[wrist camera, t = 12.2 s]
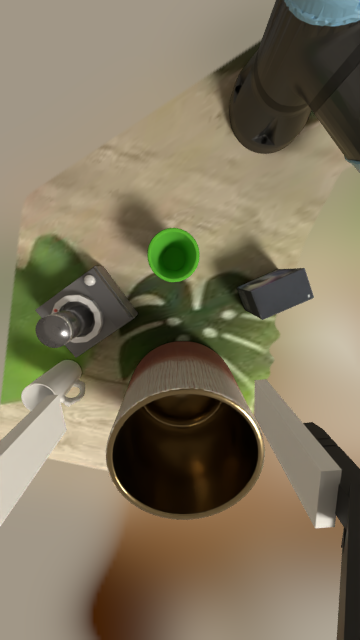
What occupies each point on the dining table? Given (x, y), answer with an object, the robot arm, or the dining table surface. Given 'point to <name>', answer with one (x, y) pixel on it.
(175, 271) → the cup
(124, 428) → the planter
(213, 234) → the dining table surface
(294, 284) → the small box
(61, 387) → the mug
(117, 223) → the dining table surface
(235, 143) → the dining table surface
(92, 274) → the camera body
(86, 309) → the lens
